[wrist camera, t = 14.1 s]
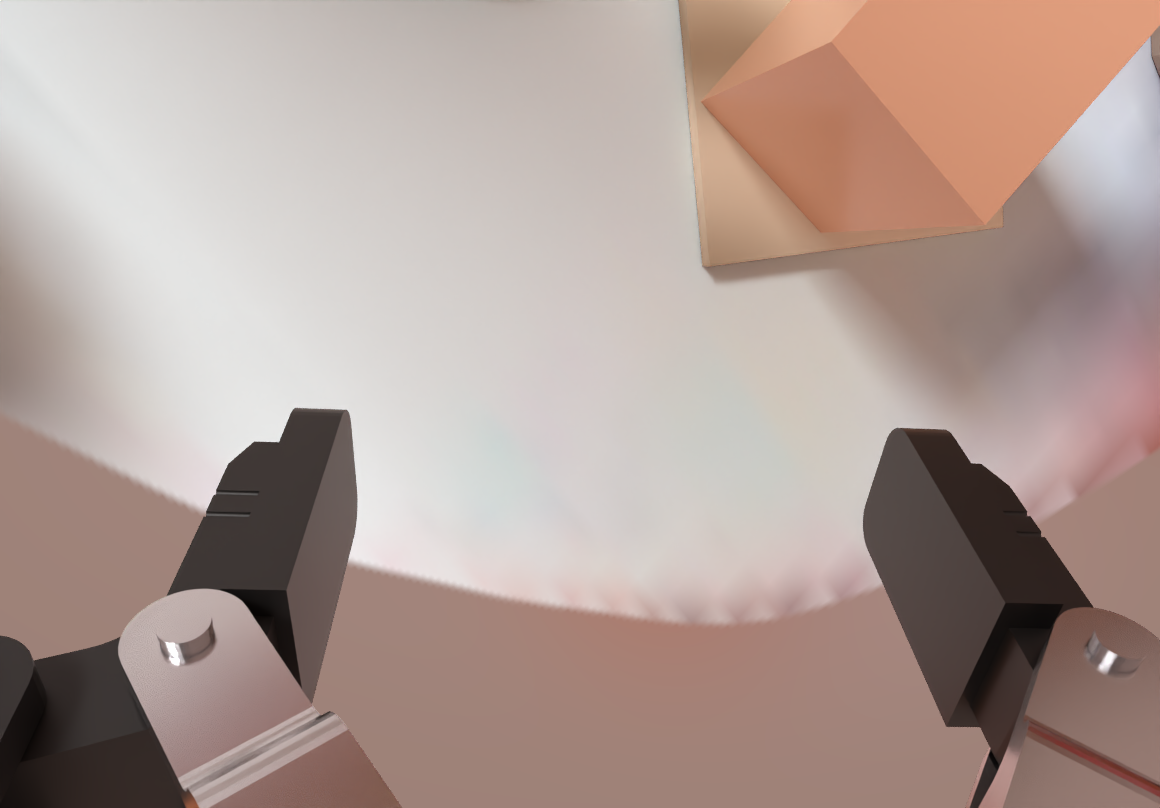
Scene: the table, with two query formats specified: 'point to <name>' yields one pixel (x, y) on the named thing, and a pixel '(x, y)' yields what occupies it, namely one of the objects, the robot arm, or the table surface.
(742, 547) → the table surface
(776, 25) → the peach rectangular brick
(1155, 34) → the decorative mushroom
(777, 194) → the birch coaster
